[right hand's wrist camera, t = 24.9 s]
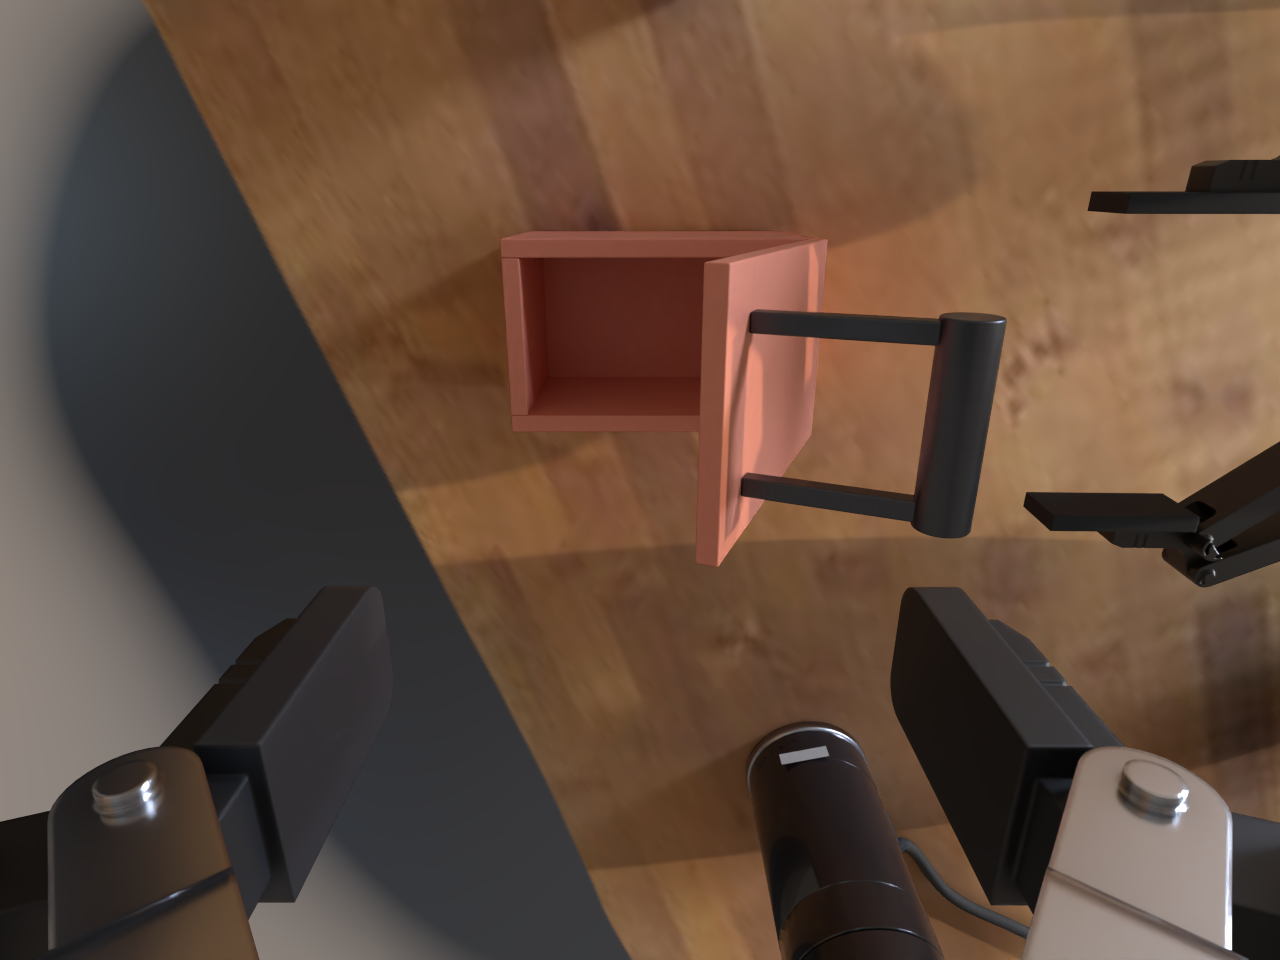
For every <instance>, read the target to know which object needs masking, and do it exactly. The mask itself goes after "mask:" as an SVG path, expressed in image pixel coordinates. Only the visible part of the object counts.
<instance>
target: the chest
mask: <svg viewBox="0 0 1280 960" xmlns="http://www.w3.org/2000/svg"><path fill="white" fill-rule="evenodd" d="M808 239H816V238H812V237H807V236H802V235H797V234H792V233H787V232H782V231H529V232H525V233H521V234H517V235H514V236H510V237H506V238H502V239H500V249H501V257H502V259H501V263H502V278H503V294H504V309H505V324H506V340H507V355H508V370H509V386H510V401H511V414H512V431H514V432H638V431H699V422H700V387H701V351H702V316H703V281H704V263H705V262H709V261H713V260H718V259H722V258H727V257H731V256H736V255H740V254H745V253H749V252H754V251H758V250H763V249H768V248H772V247H777V246H781V245H786V244H790V243H795V242H799V241H804V240H808Z"/></svg>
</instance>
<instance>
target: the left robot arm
mask: <svg viewBox="0 0 1280 960" xmlns="http://www.w3.org/2000/svg"><path fill="white" fill-rule="evenodd" d="M1088 211H1097V212H1110V213H1123V214H1280V156H1278V157H1277V158H1275V159H1272V160H1215V161H1204V162H1202V163H1199V164H1196V165H1194V166H1192V167H1191V171H1190V175H1189V179H1188V183H1187V186H1186V190H1185V192H1092V193H1091V198H1090V202H1089V207H1088ZM1024 507H1025V508H1026V509H1027V510H1028V511H1029V512H1030V513H1031V514H1032V515H1034V516H1035V517H1036V518H1037V519H1038V520H1039V521H1040V522H1041V523H1042V524H1043V525H1045V526H1046V527H1047V528H1048V529H1049V530H1050V531H1097V532H1098V533H1100V534H1101V535H1102V536H1103V537H1105V538H1106V539H1107V540H1108V541H1109V542H1111V543H1112V544H1114V545H1117V546H1119V547H1122V548H1133V547H1135V548H1142V547H1144V548H1164V549H1163V551H1162V558H1163V559H1164V560H1165V561H1166V562H1167V563H1169V564H1170V565H1171V566H1172V567H1174V568H1175V569H1176V570H1178V571H1179V572H1180V573H1182V574H1183V575H1184V576H1186V577H1187V578H1188V579H1189V580H1191V581H1192V582H1194V583H1195V584H1196V585H1198V586H1200V587H1209V586H1212V585H1215V584H1218V583H1221V582H1223V581H1226V580H1229V579H1232V578H1234V577H1237V576H1240V575H1243V574H1246V573H1248V572H1251V571H1254V570H1257V569H1259V568H1262V567H1265V566H1268V565H1270V564H1273V563H1276V562H1279V561H1280V442H1278V443H1276V444H1275V445H1273V446H1272V447H1270V448H1268V449H1267V450H1265V451H1263V452H1262V453H1260V454H1258V455H1257V456H1255V457H1253V458H1252V459H1250V460H1249V461H1247V462H1245V463H1244V464H1242V465H1240V466H1239V467H1237V468H1235V469H1234V470H1232V471H1230V472H1229V473H1227V474H1226V475H1224V476H1222V477H1221V478H1219V479H1217V480H1216V481H1214V482H1212V483H1211V484H1209V485H1207V486H1206V487H1204V488H1202V489H1201V490H1199V491H1198V492H1196V493H1194V494H1193V495H1191V496H1189V497H1188V498H1186V499H1184V500H1183V501H1181V502H1179V503H1177V502H1175V501H1173V500H1172V499H1170V498H1169V497H1167V496H1165V495H1164V494H1150V493H1052V492H1026V497H1025V501H1024Z"/></svg>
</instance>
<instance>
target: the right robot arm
mask: <svg viewBox="0 0 1280 960" xmlns="http://www.w3.org/2000/svg"><path fill="white" fill-rule="evenodd" d="M890 683H891V696H892V702H893V707H894V710H895V713H896V716H897V718H898V720H899V722H900V724H901V726H902V728H903V730H904V732H905V734H906V736H907V738H908V740H909V742H910V744H911V746H912V748H913V750H914V752H915V754H916V756H917V758H918V760H919V762H920V764H921V766H922V768H923V770H924V772H925V774H926V776H927V778H928V780H929V782H930V784H931V786H932V788H933V790H934V792H935V794H936V796H937V798H938V800H939V802H940V804H941V806H942V808H943V810H944V812H945V814H946V816H947V818H948V820H949V822H950V824H951V826H952V828H953V830H954V832H955V834H956V836H957V838H958V840H959V842H960V844H961V846H962V848H963V850H964V852H965V854H966V856H967V858H968V860H969V862H970V864H971V866H972V868H973V870H974V872H975V874H976V876H977V878H978V880H979V882H980V884H981V886H982V888H983V890H984V892H985V894H986V896H987V898H988V900H989V902H990V904H991V905H1028V906H1029V908H1030V910H1031V911H1032V913H1033V918H1032V922H1031V925H1030V928H1028V927H1026V926H1024V925H1022V924H1020V923H1018V922H1016V921H1014V920H1012V919H1009V918H1007V917H1005V916H1003V915H1001V914H998V913H996V912H993V911H991V910H989V909H986V908H984V907H982V906H980V905H977V904H975V903H973V902H971V901H969V900H968V899H966V898H964V897H962V896H961V895H959V894H958V893H956V892H955V891H953V890H952V889H951V888H950V887H948V886H947V885H946V884H945V883H944V882H943V880H942V879H941V878H940V877H939V875H938V874H937V873H936V871H935V870H934V868H933V867H932V865H931V864H930V863H929V861H928V860H927V858H926V857H925V855H924V854H923V853H922V852H921V850H920V849H919V848H918V847H917V846H916V845H915V844H914V843H912V842H911V841H910V840H908V839H905V838H898V837H897V835H896V832H895V830H894V827H893V825H892V822H891V820H890V817H889V815H888V813H887V811H886V810H885V809H884V807H883V805H882V802H881V800H880V797H879V795H878V792H877V789H876V787H875V784H874V782H873V779H872V777H871V774H870V772H869V769H868V765H867V761H866V758H865V756H864V753H863V751H862V749H861V747H860V745H859V744H858V742H857V741H856V740H855V739H854V738H853V737H852V736H851V735H850V734H848V733H847V732H845V731H844V730H842V729H840V728H838V727H836V726H833V725H830V724H826V723H820V722H801V723H795V724H791V725H787V726H784V727H782V728H779V729H777V730H775V731H774V732H772V733H770V734H769V735H767V736H766V737H765V738H764V739H762V740H761V741H760V742H759V743H758V744H757V746H756V747H755V748H754V750H753V751H752V753H751V755H750V757H749V760H748V763H747V768H746V778H747V784H748V789H749V792H750V795H751V798H752V804H753V809H754V814H755V821H756V826H757V831H758V837H759V842H760V847H761V852H762V858H763V863H764V868H765V874H766V879H767V884H768V889H769V895H770V900H771V905H772V911H773V916H774V921H775V926H776V932H777V937H778V942H779V948H780V952H781V957H782V960H945V959H944V956H943V954H942V951H941V949H940V946H939V944H938V941H937V939H936V936H935V934H934V931H933V929H932V926H931V924H930V921H929V919H928V916H927V914H926V911H925V910H924V907H923V905H922V902H921V900H920V897H919V895H918V892H917V890H916V887H915V885H914V882H913V880H912V877H911V875H910V872H909V870H908V867H907V865H906V862H905V860H904V857H903V855H902V854H903V852H904V851H905V852H907V853H908V854H910V855H911V857H912V858H913V859H914V860H915V862H916V863H917V865H918V866H919V867H920V869H921V870H922V872H923V873H924V875H925V876H926V878H927V879H928V880H929V882H930V883H931V884H932V885H933V886H934V888H935V889H936V890H937V891H938V892H939V893H940V894H941V895H942V896H943V897H945V898H946V899H947V900H948V901H950V902H951V903H953V904H954V905H956V906H957V907H959V908H960V909H962V910H964V911H966V912H968V913H970V914H972V915H974V916H976V917H978V918H980V919H983V920H985V921H987V922H990V923H992V924H994V925H997V926H999V927H1001V928H1004V929H1006V930H1008V931H1010V932H1012V933H1014V934H1017V935H1019V936H1021V937H1023V938H1025V939H1026V943H1025V946H1024V950H1023V953H1022V957H1021V960H1280V823H1278V822H1273V821H1269V820H1264V819H1260V818H1255V817H1251V816H1246V815H1241V814H1237V813H1233V812H1230V810H1229V808H1228V806H1227V804H1226V803H1225V802H1224V800H1223V799H1222V797H1221V796H1220V795H1219V794H1218V793H1217V792H1216V791H1215V790H1214V789H1213V788H1212V787H1211V786H1210V785H1209V784H1208V783H1206V782H1205V781H1204V780H1203V779H1201V778H1200V777H1198V776H1197V775H1196V774H1194V773H1193V772H1191V771H1189V770H1187V769H1186V768H1184V767H1182V766H1181V765H1178V764H1176V763H1174V762H1172V761H1170V760H1168V759H1166V758H1163V757H1161V756H1158V755H1155V754H1152V753H1149V752H1146V751H1142V750H1138V749H1133V748H1127V747H1125V746H1124V745H1123V744H1122V743H1121V742H1120V741H1119V740H1118V738H1117V737H1116V736H1115V735H1114V734H1113V733H1112V732H1111V731H1110V729H1109V728H1108V727H1107V726H1106V725H1105V724H1104V723H1103V722H1102V720H1101V719H1100V718H1099V717H1098V716H1097V715H1096V714H1095V713H1094V712H1093V710H1092V709H1091V708H1090V707H1089V706H1088V705H1087V704H1086V703H1085V701H1084V700H1083V699H1082V698H1081V697H1080V696H1079V695H1078V694H1077V692H1076V691H1075V690H1074V689H1073V688H1072V687H1071V686H1067V685H1066V680H1065V679H1064V678H1063V677H1062V676H1061V675H1060V673H1059V672H1058V671H1057V670H1056V669H1055V668H1054V667H1050V665H1049V661H1048V660H1047V659H1046V658H1045V657H1044V655H1043V654H1042V653H1041V652H1040V651H1039V650H1038V649H1037V648H1036V646H1035V645H1034V644H1033V643H1032V642H1031V641H1030V640H1029V639H1028V638H1026V637H1025V636H1023V635H1021V634H1020V633H1018V632H1017V631H1015V630H1013V629H1012V628H1010V627H1008V626H1007V625H1005V624H1004V623H1002V622H1000V621H999V620H987V618H986V617H985V616H984V615H983V614H982V612H981V611H980V610H979V609H978V608H977V606H976V605H975V604H974V603H973V602H972V600H971V599H970V598H969V597H968V596H967V594H966V593H965V592H964V591H963V590H962V589H960V588H957V587H910V588H907V589H906V591H905V592H904V594H903V597H902V600H901V606H900V613H899V620H898V627H897V634H896V641H895V648H894V655H893V662H892V669H891V681H890ZM392 693H393V669H392V662H391V655H390V648H389V641H388V634H387V627H386V620H385V613H384V605H383V600H382V596H381V593H380V591H379V589H378V588H377V587H375V586H326V587H324V588H322V589H321V590H320V591H319V592H318V594H317V595H316V596H315V597H314V598H313V600H312V601H311V602H310V603H309V605H308V606H307V607H306V608H305V609H304V611H303V612H302V613H301V614H300V615H299V617H298V618H297V619H285V620H284V621H282V622H280V623H279V624H277V625H276V626H274V627H272V628H271V629H269V630H268V631H266V632H264V633H263V634H261V635H260V636H258V637H256V638H255V639H254V640H253V642H252V643H251V644H250V645H249V646H248V647H247V648H246V649H245V651H244V652H243V653H242V654H241V655H240V656H239V657H238V658H237V660H236V664H235V665H231V666H230V667H229V669H228V670H227V671H226V672H225V673H224V674H223V675H222V677H221V678H220V679H219V684H215V685H214V686H213V687H212V688H211V689H210V690H209V691H208V692H207V694H206V695H205V696H204V697H203V698H202V699H201V700H200V701H199V703H198V704H197V705H196V706H195V707H194V708H193V709H192V710H191V712H190V713H189V714H188V715H187V716H186V717H185V718H184V720H183V721H182V722H181V723H180V724H179V725H178V726H177V727H176V729H175V730H174V731H173V732H172V733H171V734H170V735H169V736H168V738H167V739H166V740H165V741H164V742H163V743H162V744H161V746H160V747H154V748H147V749H143V750H138V751H134V752H131V753H128V754H125V755H122V756H119V757H117V758H114V759H112V760H110V761H108V762H106V763H104V764H102V765H100V766H98V767H96V768H94V769H93V770H91V771H89V772H87V773H86V774H85V775H83V776H82V777H80V778H79V779H77V780H76V781H75V782H74V783H73V784H71V785H70V786H69V787H68V788H67V789H66V790H65V791H64V792H63V793H62V794H61V795H60V796H59V797H58V799H57V800H56V802H55V803H54V804H53V806H52V808H51V810H50V811H47V812H42V813H38V814H33V815H29V816H24V817H20V818H15V819H11V820H6V821H2V822H0V960H259V957H258V953H257V950H256V946H255V943H254V939H253V936H252V932H251V929H250V925H249V922H248V920H249V918H250V916H251V914H252V912H253V911H254V909H255V907H256V905H257V903H258V902H295V901H296V899H297V897H298V895H299V893H300V890H301V888H302V886H303V884H304V882H305V880H306V878H307V876H308V874H309V872H310V870H311V868H312V866H313V864H314V862H315V860H316V858H317V856H318V854H319V852H320V850H321V848H322V846H323V844H324V842H325V840H326V838H327V836H328V834H329V832H330V830H331V828H332V826H333V824H334V822H335V819H336V818H337V816H338V813H339V812H340V809H341V807H342V805H343V803H344V801H345V799H346V797H347V795H348V793H349V791H350V789H351V787H352V785H353V783H354V781H355V779H356V777H357V775H358V773H359V771H360V769H361V767H362V765H363V763H364V761H365V759H366V757H367V755H368V753H369V751H370V749H371V747H372V745H373V743H374V741H375V739H376V737H377V735H378V732H379V730H380V729H381V726H382V724H383V722H384V720H385V718H386V716H387V714H388V711H389V708H390V704H391V699H392Z"/></svg>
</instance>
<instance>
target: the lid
mask: <svg viewBox="0 0 1280 960" xmlns="http://www.w3.org/2000/svg"><path fill="white" fill-rule="evenodd" d="M827 244H828V239H808V240H804V241H799V242H795V243H790V244H786V245H781V246H777V247H772V248H768V249H763V250H758V251H754V252H749V253H745V254H740V255H736V256H731V257H727V258H722V259H718V260H713V261H709V262H705V263H704V281H703V316H702V351H701V387H700V422H699V457H698V493H697V528H696V563H697V564H703V565H708V566H713V567H718V566H719V565H720V563H721V562H722V561H723V559H724V558H725V556H726V555H727V553H728V552H729V551H730V549H731V548H732V546H733V545H734V544H735V542H736V541H737V539H738V538H739V536H740V535H741V534H742V532H743V531H744V529H745V528H746V527H747V525H748V524H749V522H750V521H751V519H752V518H753V517H754V515H755V514H756V512H757V511H758V510H759V508H760V507H761V505H762V504H763V502H764V501H765V500H769V501H776V502H783V503H789V504H796V505H803V506H809V507H816V508H823V509H829V510H836V511H843V512H849V513H856V514H863V515H869V516H876V517H883V518H889V519H896V520H903V521H909V522H911V525H912V527H913V528H915V529H916V530H917V531H919V532H921V533H924V534H927V535H930V536H934V537H940V538H960V537H964V536H966V535H968V534H969V533H970V531H971V525H972V519H973V513H974V508H975V502H976V496H977V490H978V484H979V479H980V473H981V467H982V461H983V455H984V450H985V444H986V438H987V432H988V427H989V421H990V415H991V409H992V403H993V398H994V392H995V386H996V380H997V374H998V369H999V363H1000V357H1001V351H1002V346H1003V340H1004V334H1005V328H1006V322H1007V319H1006V318H1004V317H1002V316H998V315H992V314H983V313H963V312H960V313H945V314H942V315H940V317H939V319H934V318H915V317H896V316H877V315H858V314H839V313H822V303H823V292H824V280H825V268H826V256H827ZM820 338H826V339H841V340H857V341H872V342H887V343H902V344H918V345H933V346H935V351H934V358H933V365H932V372H931V380H930V387H929V394H928V401H927V408H926V415H925V422H924V429H923V437H922V444H921V451H920V458H919V465H918V472H917V479H916V486H915V493H914V495H909V494H902V493H894V492H887V491H880V490H872V489H865V488H858V487H851V486H843V485H836V484H829V483H821V482H814V481H807V480H800V479H792V478H785V477H782V475H783V474H784V473H785V471H786V470H787V468H788V467H789V466H790V464H791V463H792V461H793V460H794V458H795V457H796V456H797V454H798V453H799V451H800V450H801V449H802V447H803V446H804V444H805V443H806V441H807V440H808V439H809V437H810V436H811V433H812V422H813V410H814V398H815V386H816V374H817V362H818V351H819V339H820Z"/></svg>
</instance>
